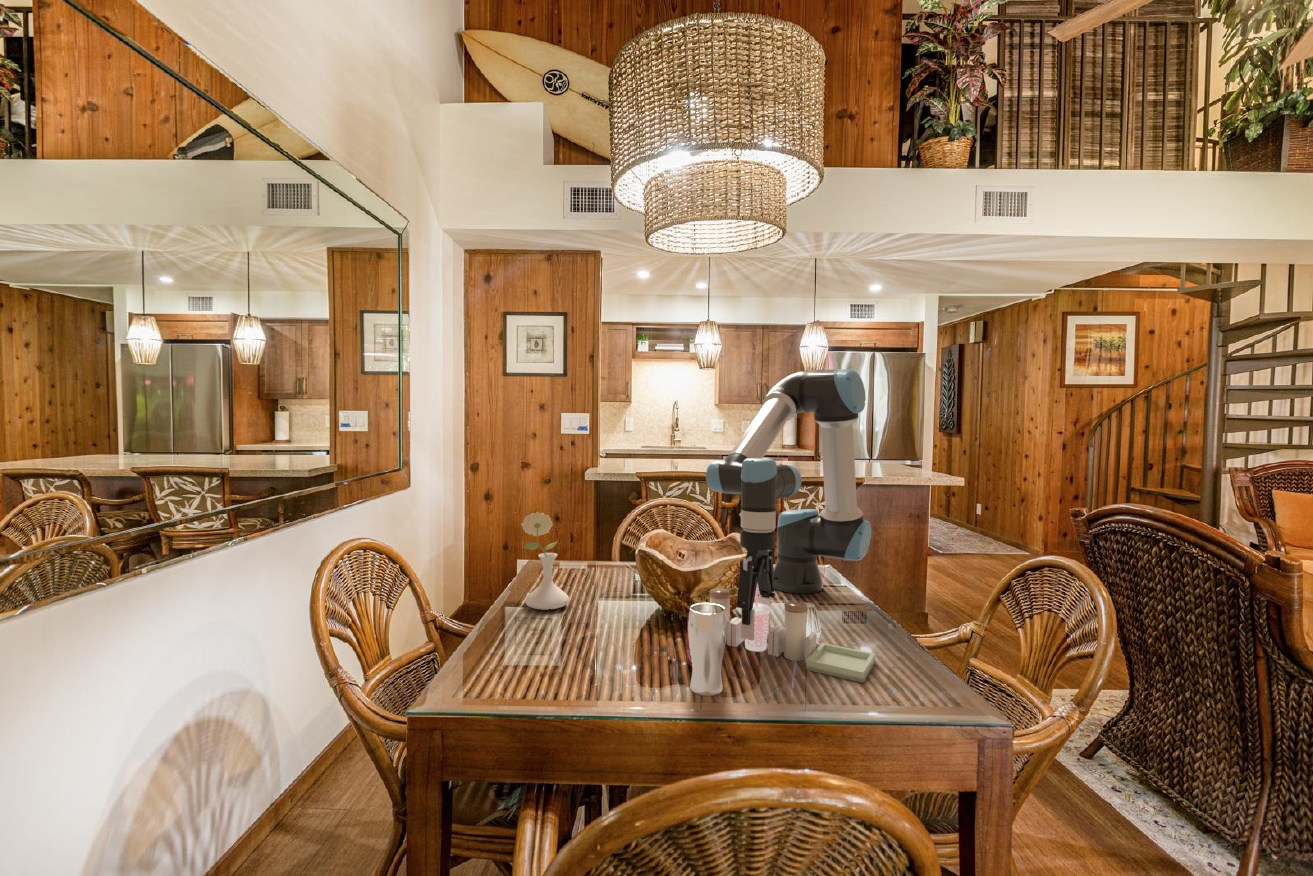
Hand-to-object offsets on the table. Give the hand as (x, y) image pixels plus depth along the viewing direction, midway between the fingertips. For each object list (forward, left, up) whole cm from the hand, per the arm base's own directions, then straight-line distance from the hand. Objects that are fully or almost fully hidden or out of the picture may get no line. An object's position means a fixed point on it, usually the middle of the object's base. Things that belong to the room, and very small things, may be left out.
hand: (755, 632), depth 131 cm
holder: (-2, 0, -3) cm, 4 cm away
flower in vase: (+4, -58, -4) cm, 58 cm away
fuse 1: (0, -9, -3) cm, 9 cm away
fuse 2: (0, +9, -3) cm, 9 cm away
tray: (0, +19, -3) cm, 19 cm away
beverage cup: (0, 0, -4) cm, 4 cm away
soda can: (+15, -5, -4) cm, 16 cm away
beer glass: (+24, 0, -4) cm, 24 cm away
